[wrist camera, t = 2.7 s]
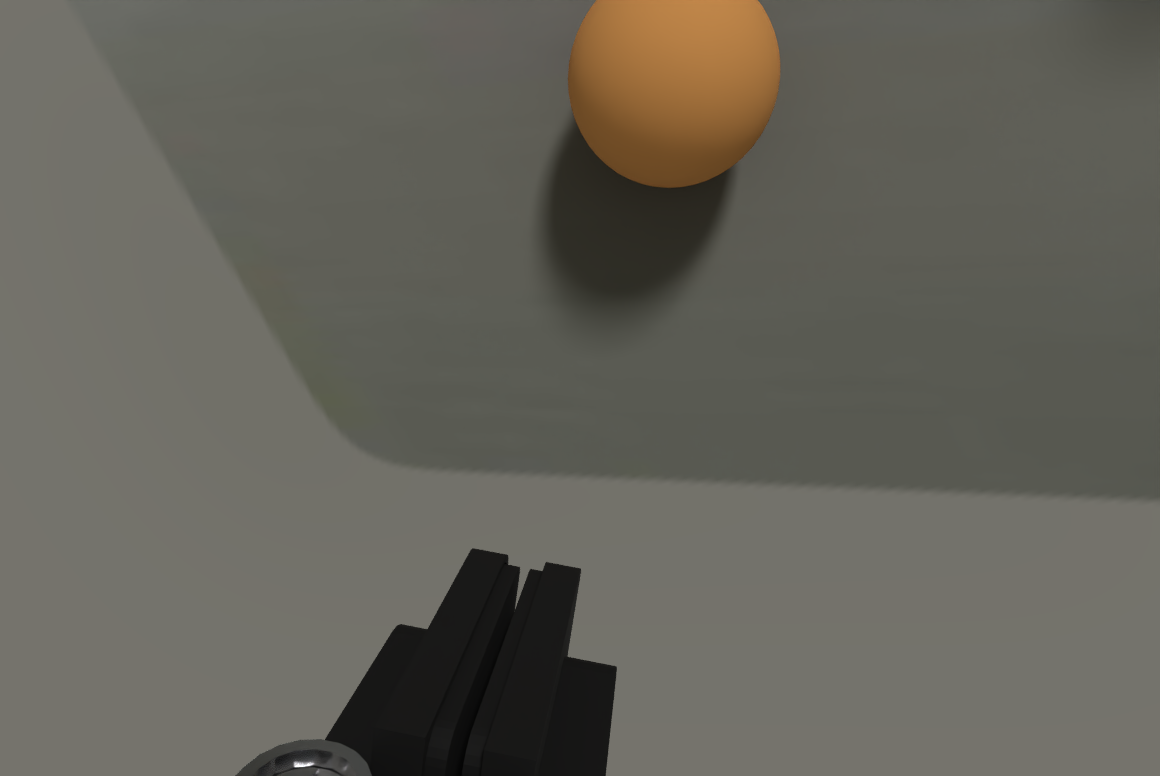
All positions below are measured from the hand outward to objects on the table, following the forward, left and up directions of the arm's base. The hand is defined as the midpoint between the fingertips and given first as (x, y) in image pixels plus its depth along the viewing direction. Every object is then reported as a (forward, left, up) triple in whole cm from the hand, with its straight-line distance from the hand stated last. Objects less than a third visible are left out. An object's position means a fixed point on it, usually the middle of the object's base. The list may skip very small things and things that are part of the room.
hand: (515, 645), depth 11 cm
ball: (0, -10, -12) cm, 15 cm away
